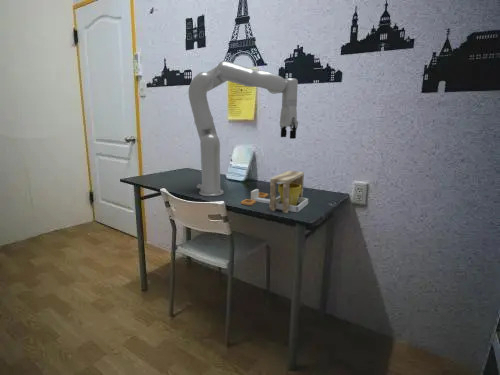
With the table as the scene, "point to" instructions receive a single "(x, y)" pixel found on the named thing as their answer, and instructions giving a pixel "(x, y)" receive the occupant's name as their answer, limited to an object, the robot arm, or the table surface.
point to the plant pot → (291, 193)
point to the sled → (292, 208)
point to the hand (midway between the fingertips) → (288, 137)
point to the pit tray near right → (248, 202)
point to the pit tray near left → (263, 195)
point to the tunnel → (285, 187)
